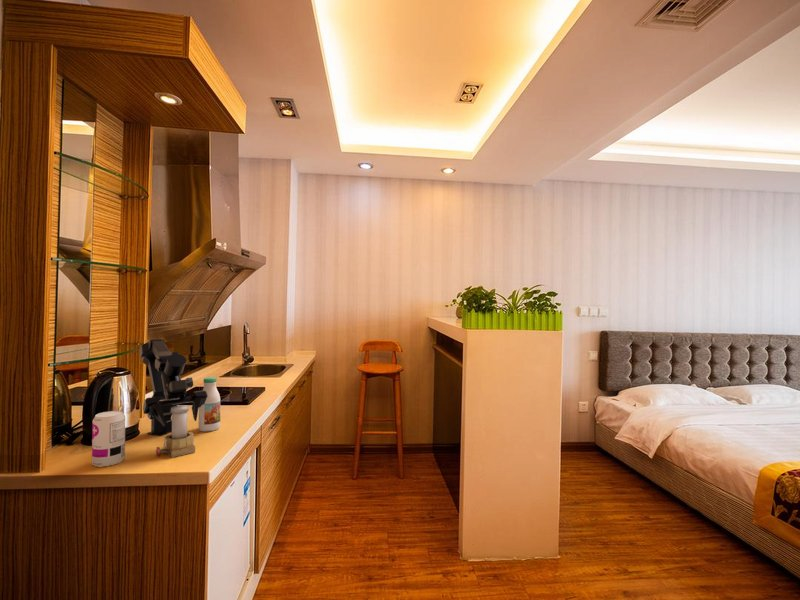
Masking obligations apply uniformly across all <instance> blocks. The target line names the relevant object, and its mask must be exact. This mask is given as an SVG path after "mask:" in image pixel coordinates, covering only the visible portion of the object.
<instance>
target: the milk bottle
mask: <svg viewBox="0 0 800 600" xmlns="http://www.w3.org/2000/svg"><path fill="white" fill-rule="evenodd" d="M216 384H217V377H215V376H210V377H209V376H208V377H204V378H203V389H202V391H203V390H204V391H206V392H207V395H208V396H207V399H206V401H205V404H203V405H201V407H199V408H198V420H197V421H198V431H200V432H205V433H206V432H213V431H216V430H218V429H220V428H221V396H220V395H221V394H220V393H219V391H218V388H217V385H216Z"/></svg>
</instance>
